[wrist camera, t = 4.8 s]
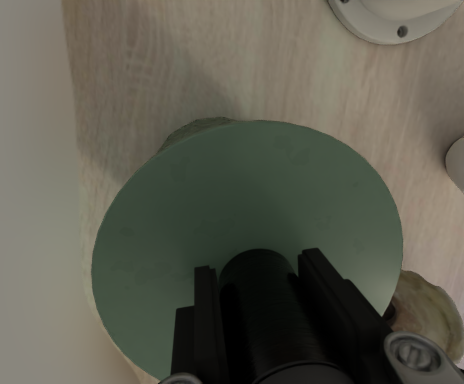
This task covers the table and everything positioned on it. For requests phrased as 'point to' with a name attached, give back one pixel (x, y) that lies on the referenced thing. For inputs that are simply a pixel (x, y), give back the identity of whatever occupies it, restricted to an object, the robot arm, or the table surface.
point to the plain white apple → (456, 163)
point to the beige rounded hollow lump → (426, 313)
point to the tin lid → (245, 247)
